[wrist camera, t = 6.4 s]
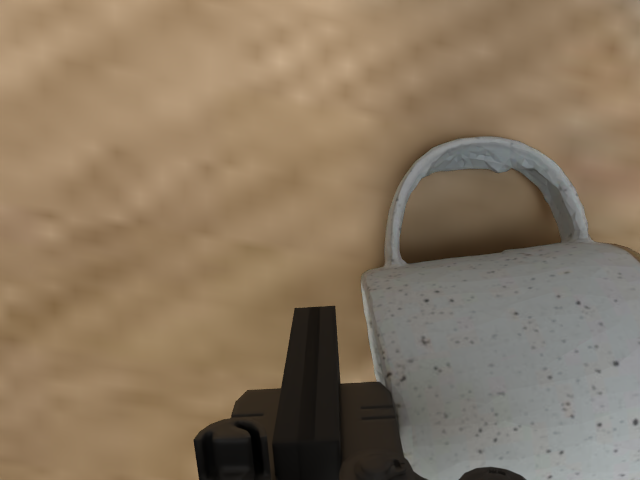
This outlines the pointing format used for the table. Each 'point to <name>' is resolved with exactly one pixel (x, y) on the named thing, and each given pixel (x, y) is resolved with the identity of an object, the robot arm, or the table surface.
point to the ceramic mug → (510, 340)
